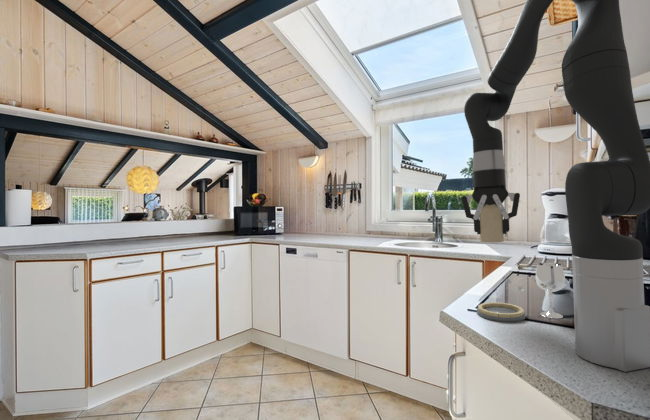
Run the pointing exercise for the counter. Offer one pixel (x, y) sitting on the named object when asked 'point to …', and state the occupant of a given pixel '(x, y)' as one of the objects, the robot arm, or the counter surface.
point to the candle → (491, 224)
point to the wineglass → (550, 283)
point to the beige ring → (501, 312)
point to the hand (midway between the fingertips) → (491, 233)
